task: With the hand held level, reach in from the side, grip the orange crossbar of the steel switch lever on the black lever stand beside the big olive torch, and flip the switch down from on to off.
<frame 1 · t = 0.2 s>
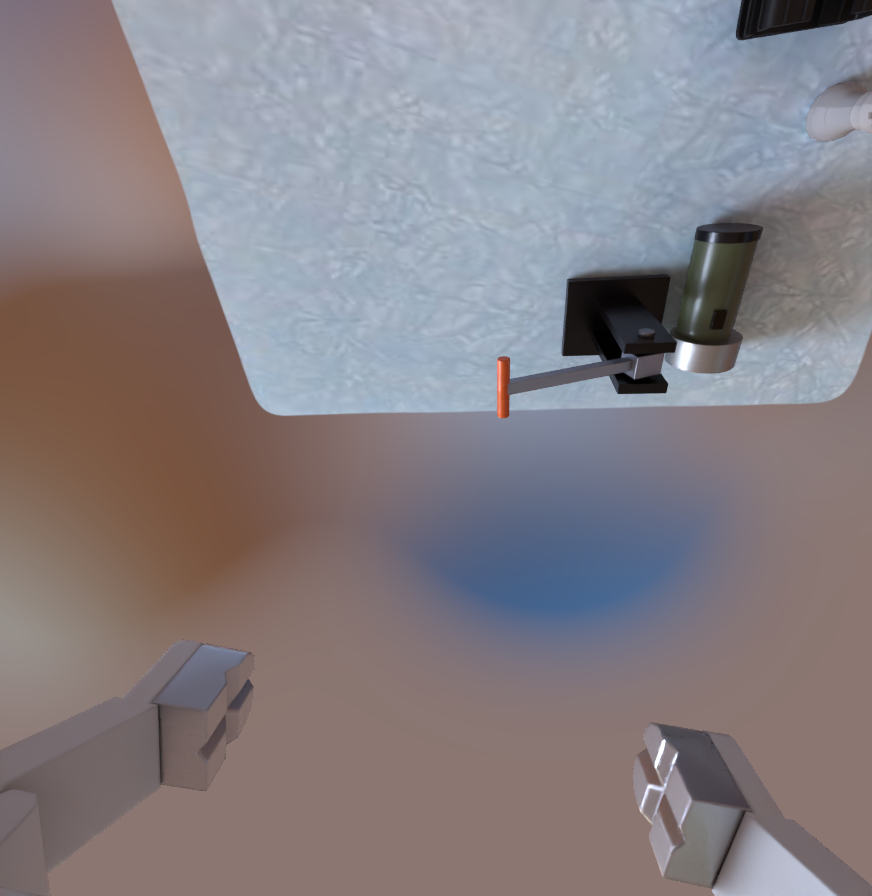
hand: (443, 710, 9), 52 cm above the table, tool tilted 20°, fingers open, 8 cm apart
black lever stand: (611, 315, 55), on the table
torch: (701, 290, 53), on the table
rook chess piece: (829, 113, 43), on the table
switch lever: (578, 373, 42), point 16 cm above the table, hinge at 22.0°
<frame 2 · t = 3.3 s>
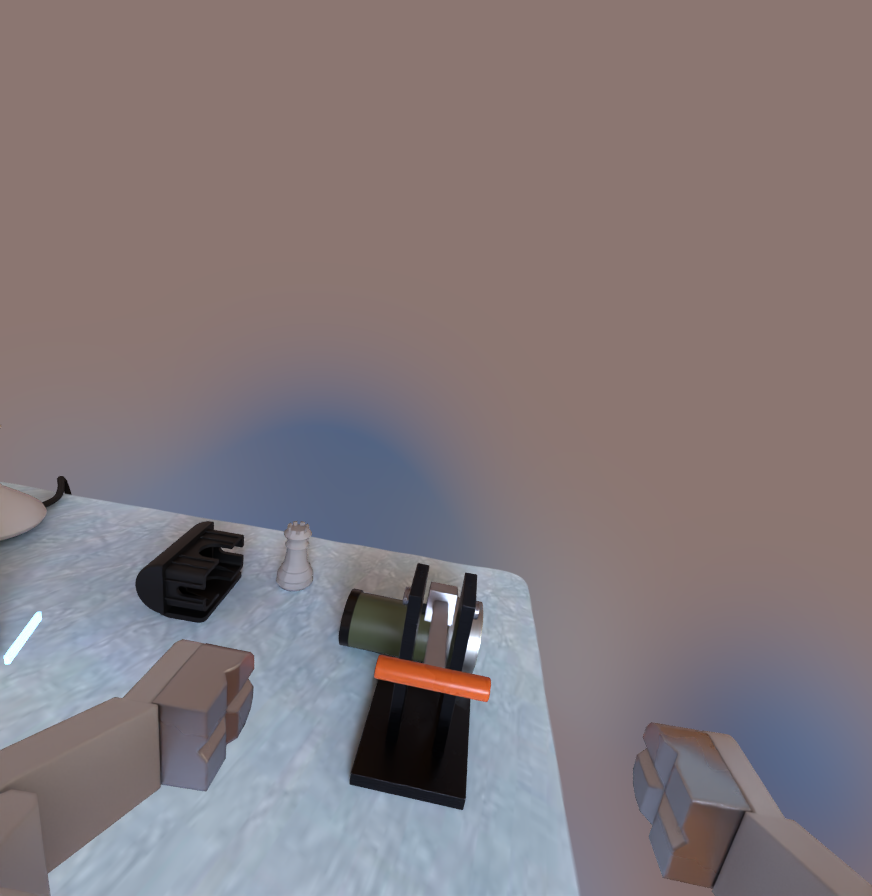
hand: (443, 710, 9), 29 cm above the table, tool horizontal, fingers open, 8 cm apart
black lever stand: (416, 734, 41), on the table
end cap: (194, 594, 54), on the table
torch: (407, 650, 50), on the table
rook chess piece: (294, 583, 58), on the table
switch lever: (438, 629, 30), point 16 cm above the table, hinge at 22.0°
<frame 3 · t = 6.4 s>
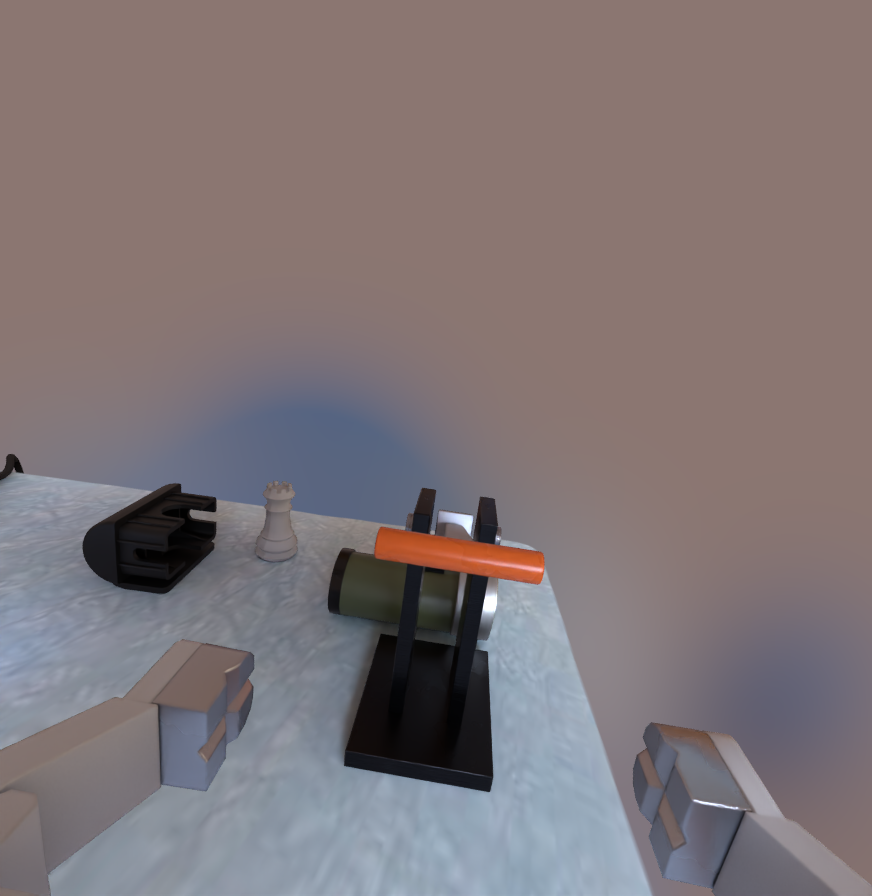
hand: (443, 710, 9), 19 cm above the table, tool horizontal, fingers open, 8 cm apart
black lever stand: (425, 706, 33), on the table
end cap: (158, 566, 46), on the table
torch: (409, 619, 43), on the table
rook chess piece: (276, 554, 51), on the table
switch lever: (454, 538, 23), point 16 cm above the table, hinge at 22.0°
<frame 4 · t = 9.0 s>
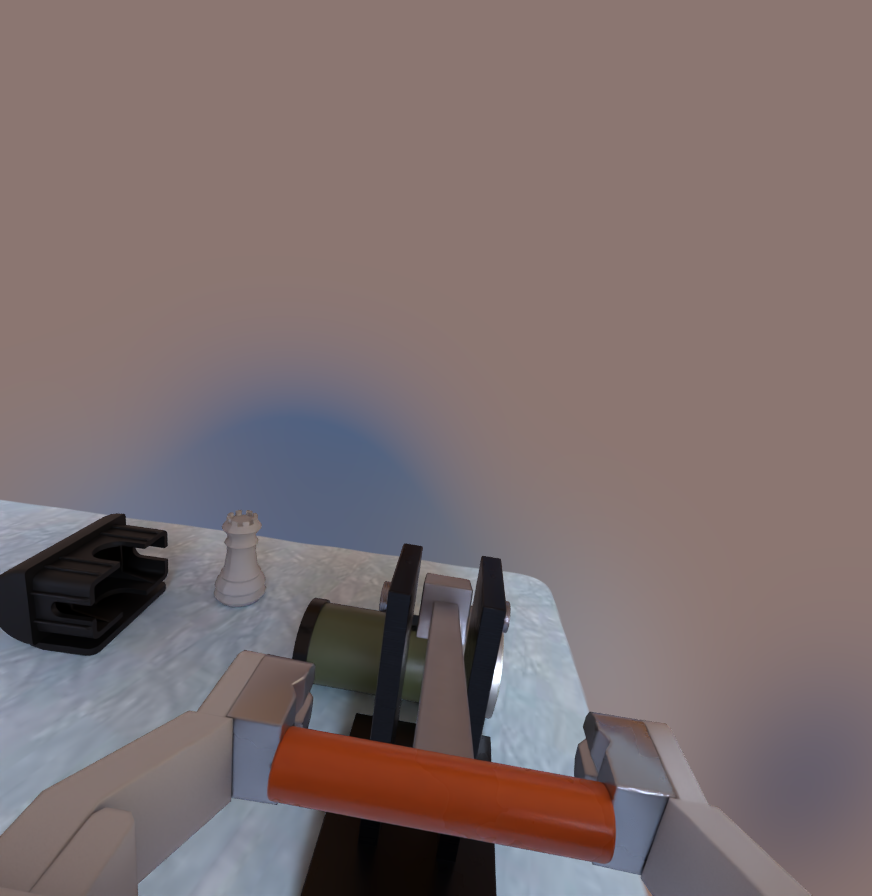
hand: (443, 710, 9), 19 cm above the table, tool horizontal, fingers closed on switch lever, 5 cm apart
black lever stand: (409, 824, 25), on the table
end cap: (93, 615, 38), on the table
torch: (394, 685, 35), on the table
rook chess piece: (240, 596, 43), on the table
switch lever: (443, 651, 15), point 16 cm above the table, hinge at 22.0°, touching gripper
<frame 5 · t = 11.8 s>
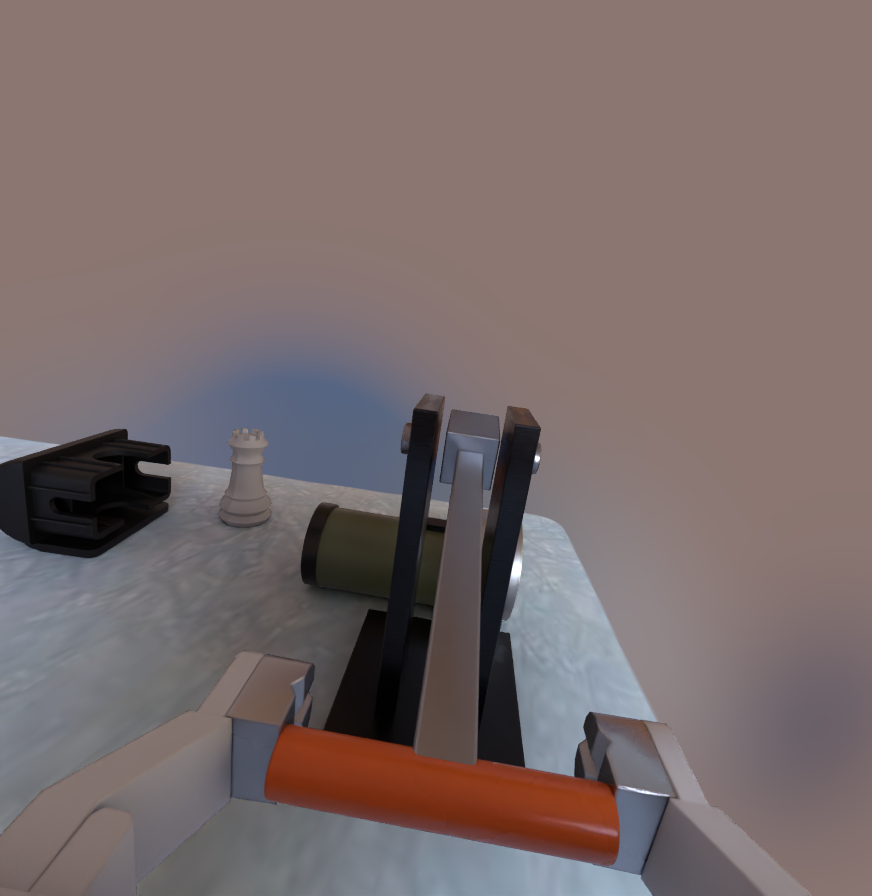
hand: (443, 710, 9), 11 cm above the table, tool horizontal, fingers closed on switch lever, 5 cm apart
black lever stand: (427, 704, 24), on the table
end cap: (93, 527, 36), on the table
torch: (406, 594, 33), on the table
rook chess piece: (245, 519, 41), on the table
switch lever: (462, 533, 14), point 13 cm above the table, hinge at -9.8°, touching gripper
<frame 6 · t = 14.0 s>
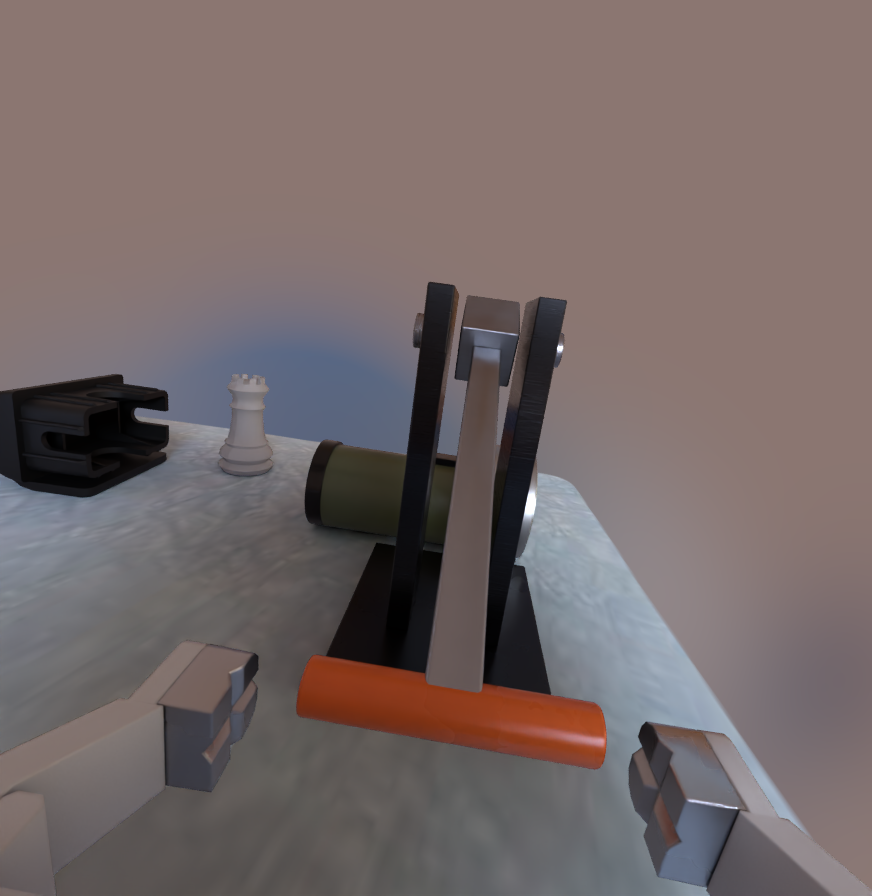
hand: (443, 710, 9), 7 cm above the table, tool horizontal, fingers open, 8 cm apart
black lever stand: (440, 629, 23), on the table
end cap: (88, 473, 35), on the table
torch: (415, 535, 32), on the table
rook chess piece: (246, 470, 40), on the table
switch lever: (476, 447, 14), point 11 cm above the table, hinge at -27.7°
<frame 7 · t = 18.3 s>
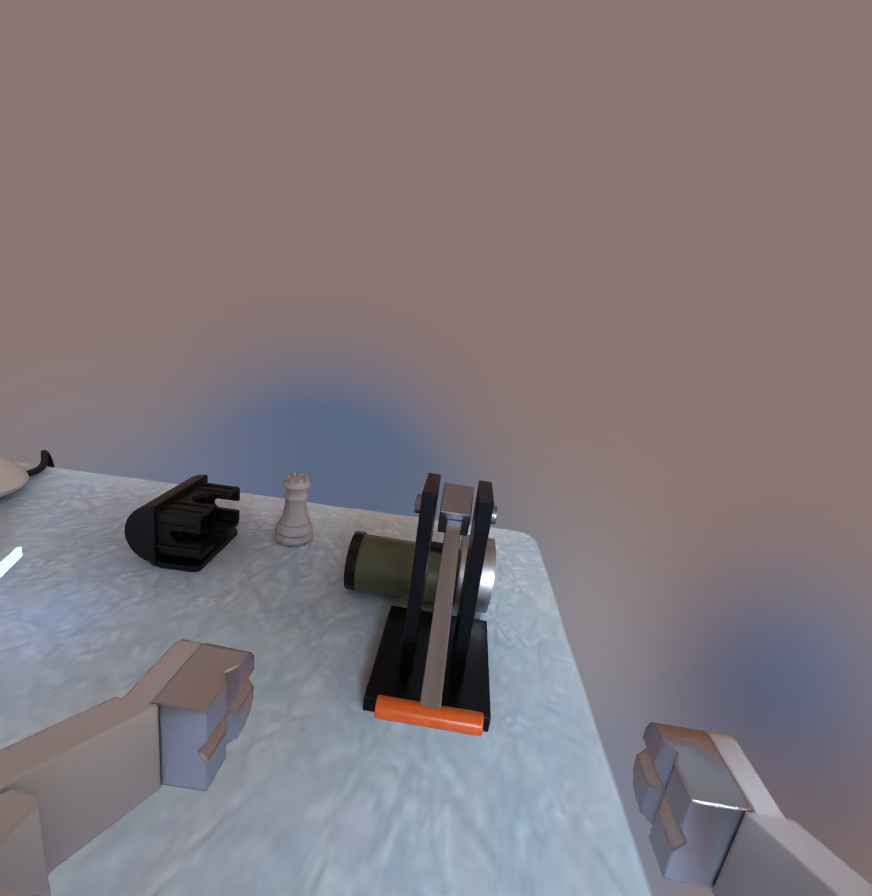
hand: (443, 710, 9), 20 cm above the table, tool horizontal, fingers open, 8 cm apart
black lever stand: (431, 665, 38), on the table
end cap: (188, 548, 50), on the table
torch: (416, 595, 47), on the table
rook chess piece: (293, 540, 55), on the table
switch lever: (445, 588, 29), point 11 cm above the table, hinge at -27.7°
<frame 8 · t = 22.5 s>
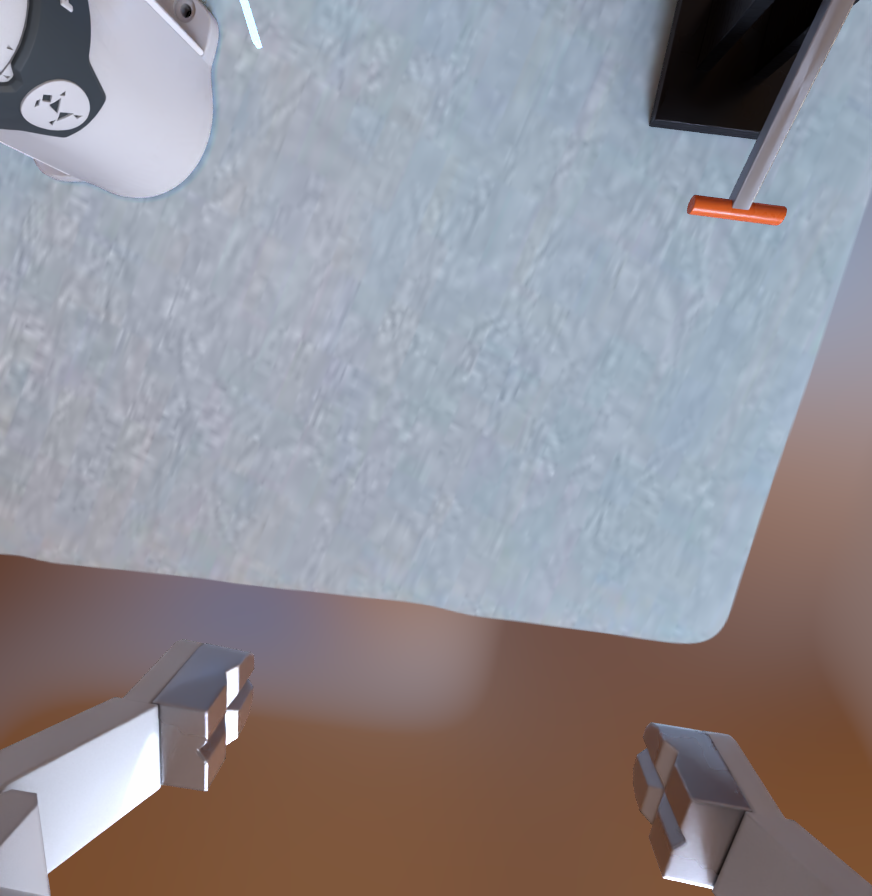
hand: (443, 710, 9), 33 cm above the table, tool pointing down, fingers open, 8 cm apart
black lever stand: (731, 46, 33), on the table
switch lever: (811, 56, 24), point 11 cm above the table, hinge at -27.7°
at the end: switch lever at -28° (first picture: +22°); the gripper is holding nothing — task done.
